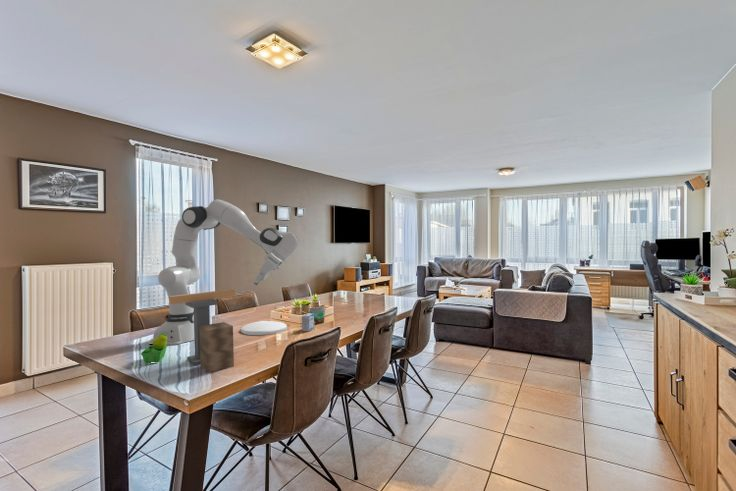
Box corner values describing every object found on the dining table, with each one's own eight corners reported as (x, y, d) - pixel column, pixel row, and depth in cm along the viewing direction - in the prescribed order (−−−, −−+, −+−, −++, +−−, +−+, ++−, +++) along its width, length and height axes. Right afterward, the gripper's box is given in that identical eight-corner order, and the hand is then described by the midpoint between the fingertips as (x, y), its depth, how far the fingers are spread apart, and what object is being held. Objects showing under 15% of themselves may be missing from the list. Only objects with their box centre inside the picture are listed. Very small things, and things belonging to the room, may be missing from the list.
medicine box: (309, 331, 198) (309, 316, 198) (301, 331, 199) (301, 316, 198) (314, 328, 206) (314, 313, 205) (307, 328, 206) (306, 313, 206)
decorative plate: (295, 321, 206) (257, 330, 187) (295, 329, 206) (257, 338, 187) (270, 316, 222) (232, 324, 204) (270, 323, 223) (232, 331, 204)
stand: (211, 354, 161) (209, 297, 160) (218, 360, 153) (217, 300, 153) (187, 360, 154) (185, 300, 154) (193, 366, 147) (191, 303, 146)
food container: (317, 325, 211) (316, 309, 211) (309, 324, 214) (309, 308, 214) (330, 321, 222) (329, 305, 221) (322, 320, 225) (322, 304, 225)
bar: (232, 295, 164) (232, 289, 164) (234, 296, 161) (234, 289, 161) (169, 303, 146) (168, 296, 146) (170, 304, 144) (170, 297, 144)
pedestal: (225, 360, 153) (224, 322, 153) (233, 366, 146) (232, 326, 145) (200, 366, 146) (199, 326, 146) (208, 372, 139) (207, 330, 139)
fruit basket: (149, 357, 159) (148, 332, 159) (171, 355, 162) (170, 330, 162) (140, 365, 148) (139, 338, 148) (164, 363, 151) (163, 336, 151)
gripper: (267, 261, 180) (249, 282, 175) (270, 252, 161) (249, 276, 156) (277, 268, 181) (259, 290, 176) (281, 260, 162) (261, 284, 157)
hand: (254, 283), depth 166 cm, fingers open, 8 cm apart
